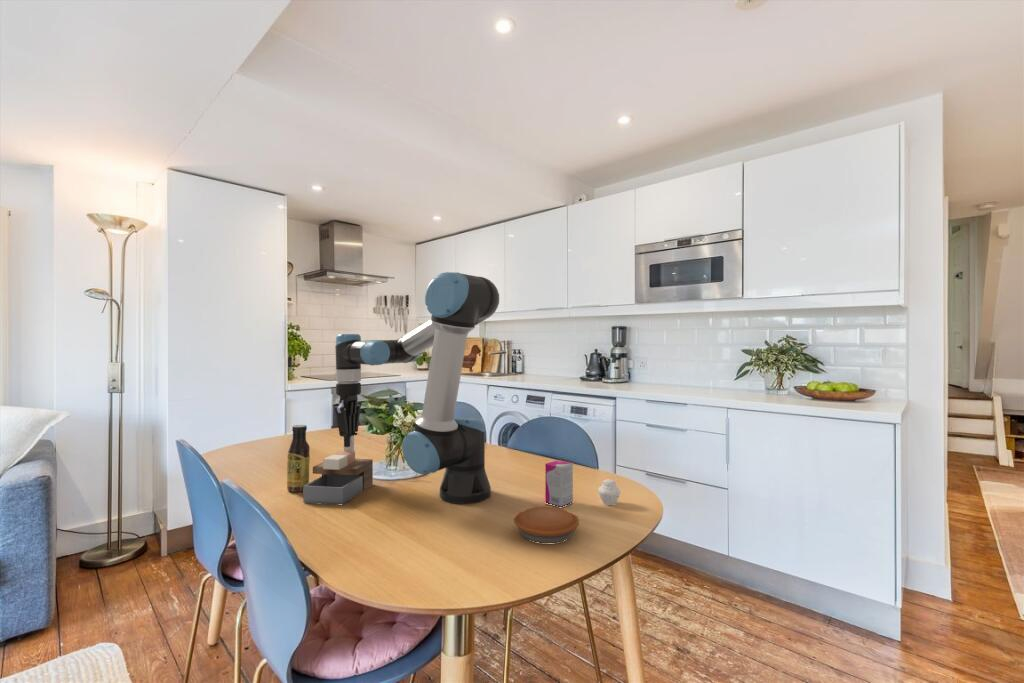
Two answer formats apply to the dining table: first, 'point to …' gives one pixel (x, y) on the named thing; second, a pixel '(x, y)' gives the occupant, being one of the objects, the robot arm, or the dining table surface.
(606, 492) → the small white jar
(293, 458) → the sauce bottle
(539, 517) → the pie
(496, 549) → the dining table surface
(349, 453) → the salmon pink square block
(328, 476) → the bin
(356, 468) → the plate
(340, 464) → the cream tile
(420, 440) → the robot arm
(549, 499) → the supplement box
